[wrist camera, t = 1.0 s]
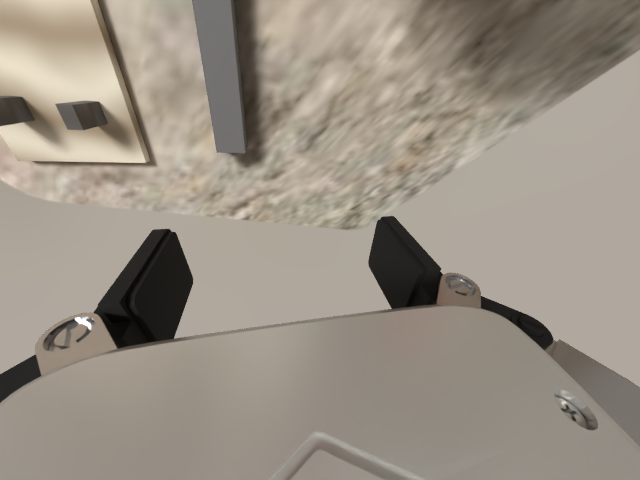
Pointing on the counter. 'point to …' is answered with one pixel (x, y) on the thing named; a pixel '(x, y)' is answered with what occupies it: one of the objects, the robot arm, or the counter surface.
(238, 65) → the bar
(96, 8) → the clip board
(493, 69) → the counter surface
